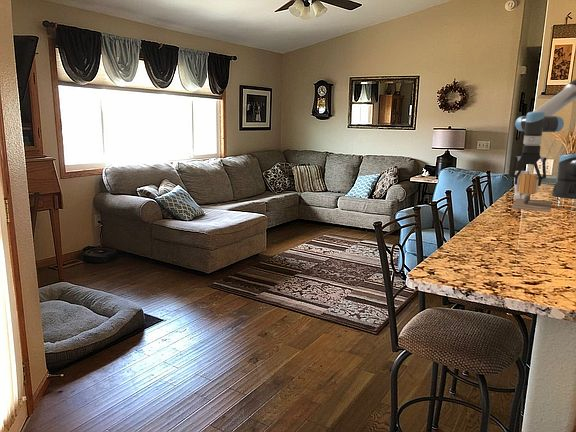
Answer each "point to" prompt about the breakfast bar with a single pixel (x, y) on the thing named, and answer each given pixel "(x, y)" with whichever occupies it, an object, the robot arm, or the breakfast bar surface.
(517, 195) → the beer glass
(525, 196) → the silver metal piece
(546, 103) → the robot arm
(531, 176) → the collar
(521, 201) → the plate
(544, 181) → the bar
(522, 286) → the breakfast bar surface
